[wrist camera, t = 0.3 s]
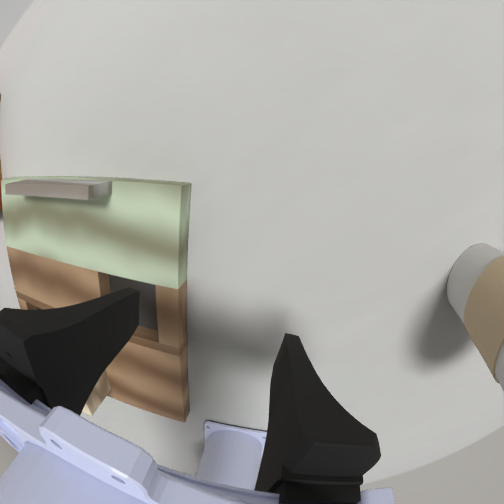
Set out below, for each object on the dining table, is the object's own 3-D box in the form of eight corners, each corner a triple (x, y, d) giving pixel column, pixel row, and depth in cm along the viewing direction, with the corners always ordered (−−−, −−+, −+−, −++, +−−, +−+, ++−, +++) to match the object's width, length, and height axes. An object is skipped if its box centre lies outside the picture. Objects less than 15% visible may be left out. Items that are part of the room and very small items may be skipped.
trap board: (189, 410, 29) (177, 441, 25) (46, 354, 31) (27, 372, 27) (191, 182, 20) (163, 191, 16) (13, 177, 23) (-18, 184, 18)
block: (111, 388, 28) (92, 416, 23) (80, 375, 28) (60, 399, 23) (102, 359, 26) (79, 387, 21) (70, 345, 26) (46, 369, 22)
